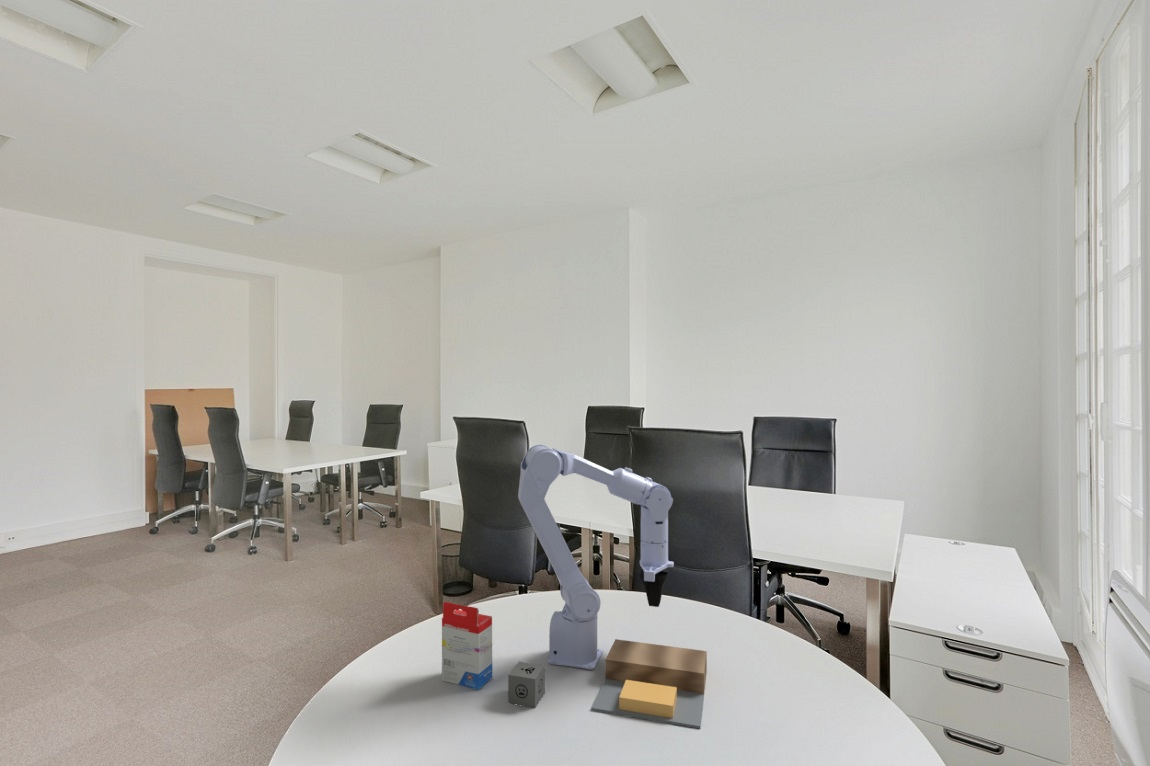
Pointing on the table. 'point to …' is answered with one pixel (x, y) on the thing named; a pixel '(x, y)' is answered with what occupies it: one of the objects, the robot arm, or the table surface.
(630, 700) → the yellow orange block
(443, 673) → the ink box
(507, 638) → the table surface
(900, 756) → the table surface
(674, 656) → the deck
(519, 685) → the dice cube
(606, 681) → the mat
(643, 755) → the table surface
